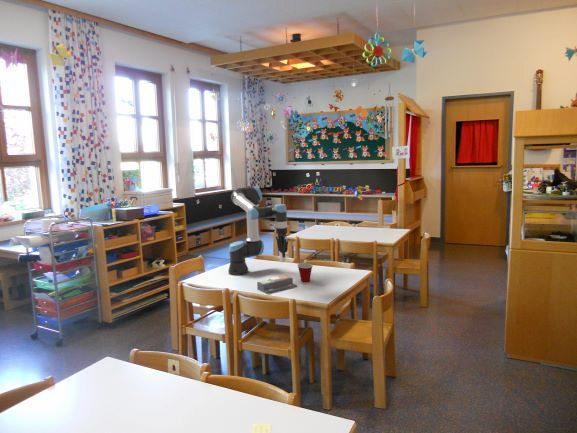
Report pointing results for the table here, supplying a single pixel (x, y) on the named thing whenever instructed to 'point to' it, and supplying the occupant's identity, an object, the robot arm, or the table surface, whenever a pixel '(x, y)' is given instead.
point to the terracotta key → (284, 277)
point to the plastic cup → (305, 271)
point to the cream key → (274, 279)
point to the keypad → (276, 286)
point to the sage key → (265, 282)
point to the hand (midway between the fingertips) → (283, 261)
